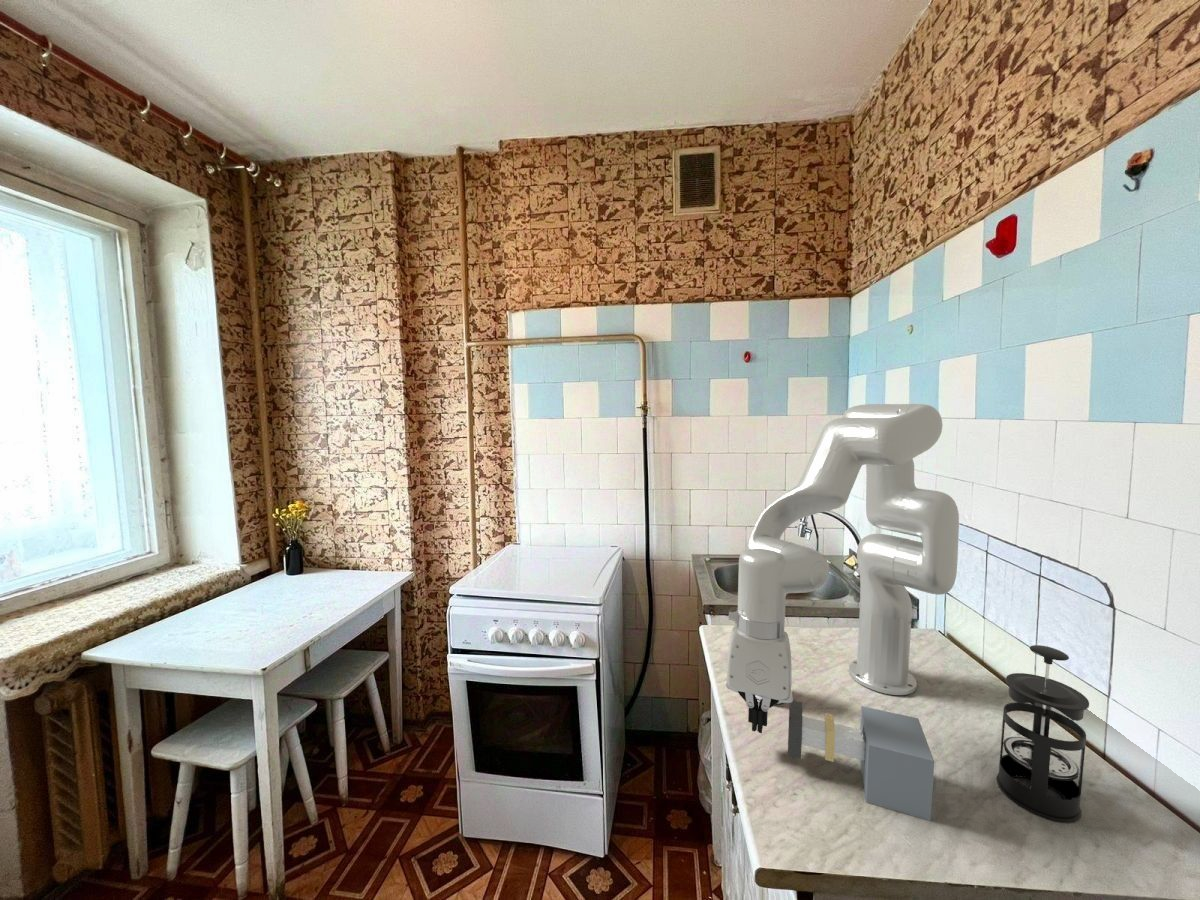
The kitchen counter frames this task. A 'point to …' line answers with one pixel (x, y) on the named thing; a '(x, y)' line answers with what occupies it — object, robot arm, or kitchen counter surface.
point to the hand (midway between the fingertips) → (757, 727)
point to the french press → (1043, 744)
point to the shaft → (823, 735)
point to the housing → (896, 763)
